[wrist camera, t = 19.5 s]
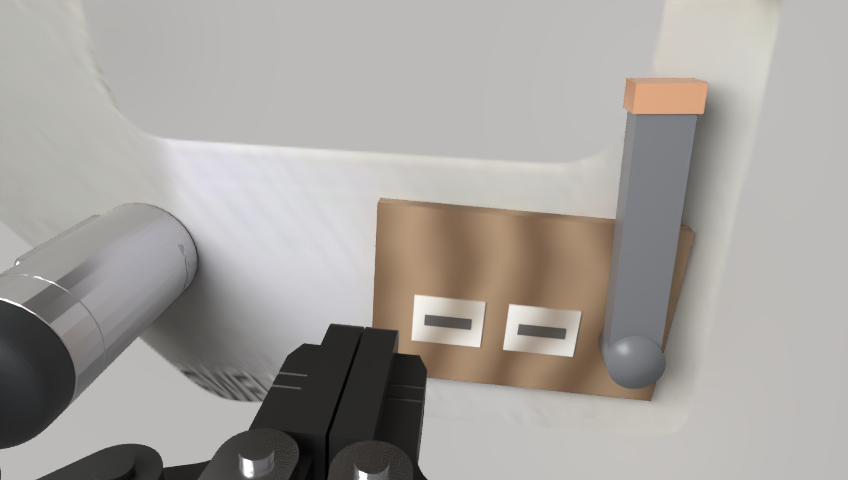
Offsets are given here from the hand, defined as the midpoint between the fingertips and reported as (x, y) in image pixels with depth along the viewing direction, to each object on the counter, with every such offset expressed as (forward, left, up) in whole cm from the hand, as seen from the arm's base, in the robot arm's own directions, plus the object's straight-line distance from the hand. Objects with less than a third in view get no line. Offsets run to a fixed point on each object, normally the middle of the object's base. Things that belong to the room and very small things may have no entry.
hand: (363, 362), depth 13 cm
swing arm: (+16, -8, -33) cm, 38 cm away
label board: (+8, -16, -35) cm, 39 cm away
